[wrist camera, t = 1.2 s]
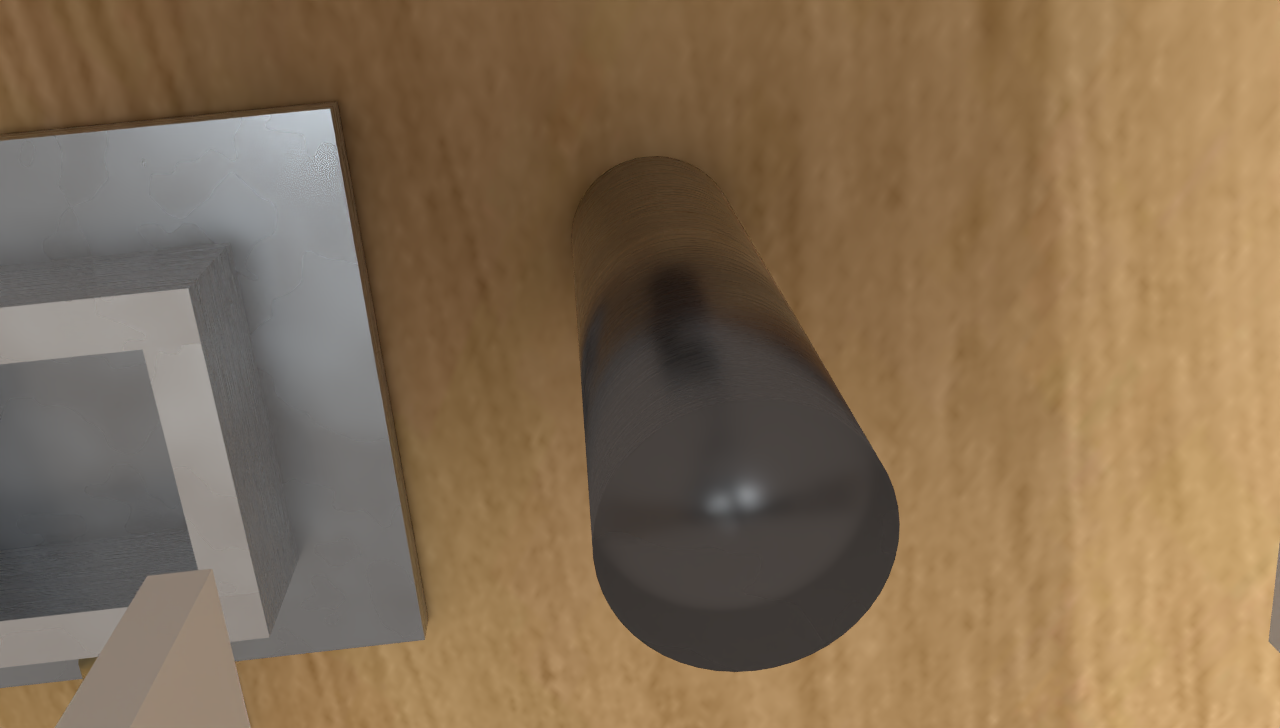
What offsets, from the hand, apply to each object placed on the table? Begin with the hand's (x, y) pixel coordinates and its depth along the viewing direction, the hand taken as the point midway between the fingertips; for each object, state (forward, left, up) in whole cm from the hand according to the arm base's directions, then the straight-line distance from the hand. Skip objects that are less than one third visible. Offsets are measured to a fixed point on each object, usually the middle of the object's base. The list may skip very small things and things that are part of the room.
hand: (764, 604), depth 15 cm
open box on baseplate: (+4, -14, -16) cm, 22 cm away
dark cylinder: (0, 0, -16) cm, 16 cm away
